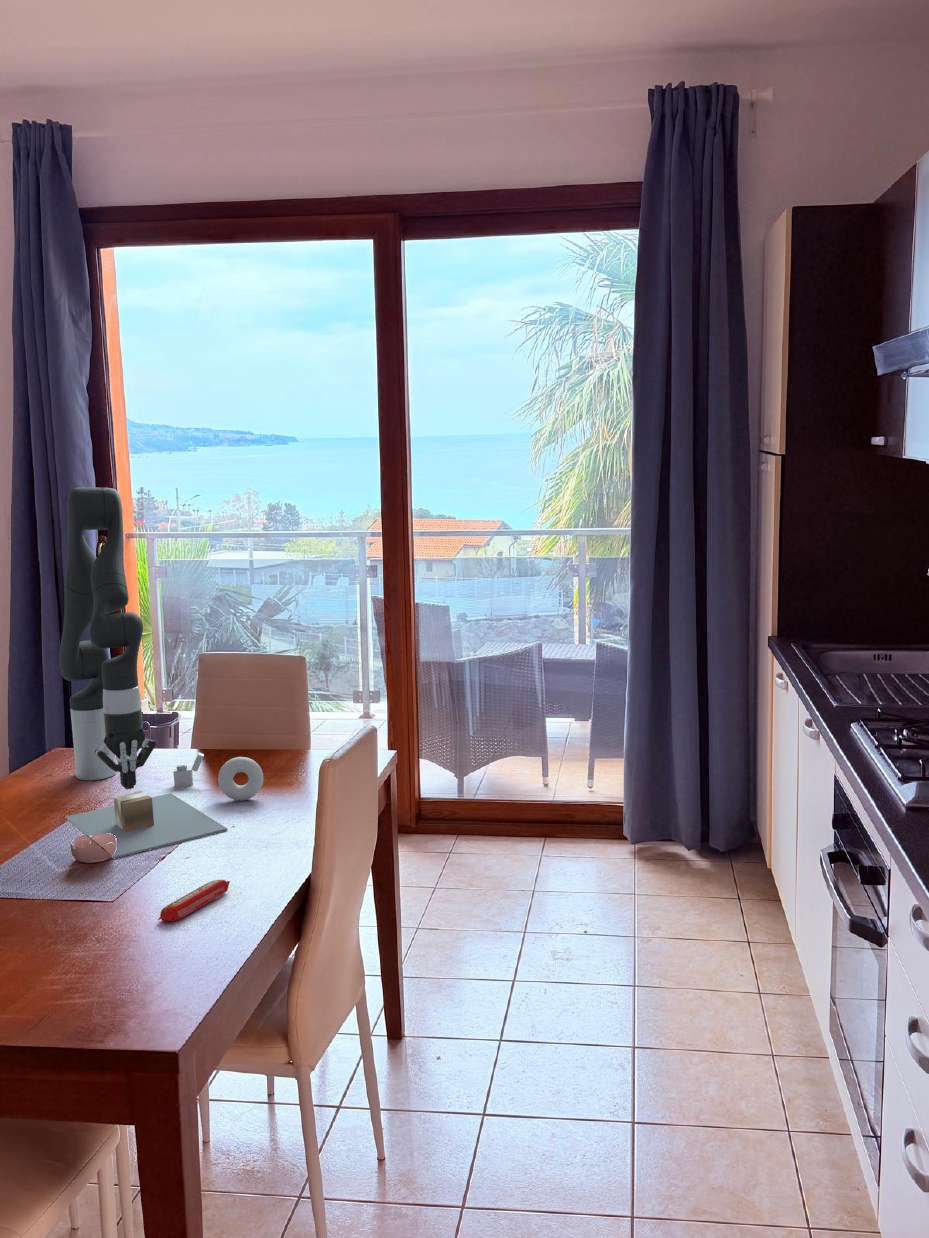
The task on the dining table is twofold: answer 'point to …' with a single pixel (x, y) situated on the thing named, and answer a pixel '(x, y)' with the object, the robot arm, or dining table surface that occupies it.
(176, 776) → the lighter
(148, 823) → the block
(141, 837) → the mat
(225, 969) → the dining table surface
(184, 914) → the packaged sausage
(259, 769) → the donut
